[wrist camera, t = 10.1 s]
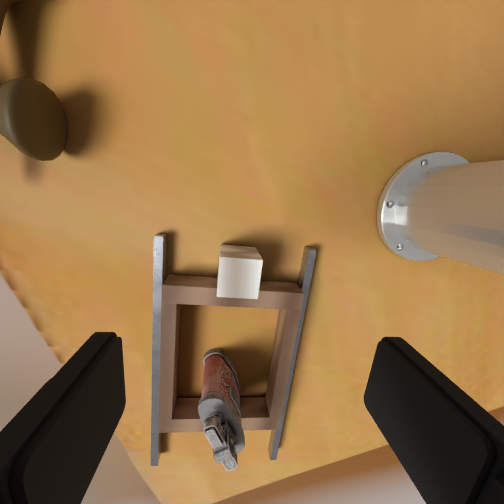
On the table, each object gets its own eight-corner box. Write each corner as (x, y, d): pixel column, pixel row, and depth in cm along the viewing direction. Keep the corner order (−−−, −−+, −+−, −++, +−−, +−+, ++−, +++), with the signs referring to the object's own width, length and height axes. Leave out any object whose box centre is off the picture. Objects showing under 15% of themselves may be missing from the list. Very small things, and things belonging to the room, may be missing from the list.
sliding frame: (301, 251, 27) (318, 264, 23) (273, 408, 33) (282, 445, 28) (169, 239, 25) (157, 251, 20) (164, 410, 31) (153, 450, 26)
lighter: (245, 389, 32) (254, 475, 22) (222, 399, 32) (221, 488, 22) (223, 344, 30) (223, 418, 20) (198, 354, 30) (186, 432, 20)
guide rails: (311, 247, 28) (316, 250, 26) (274, 448, 36) (276, 459, 34) (157, 233, 25) (153, 236, 24) (153, 453, 33) (150, 465, 32)
